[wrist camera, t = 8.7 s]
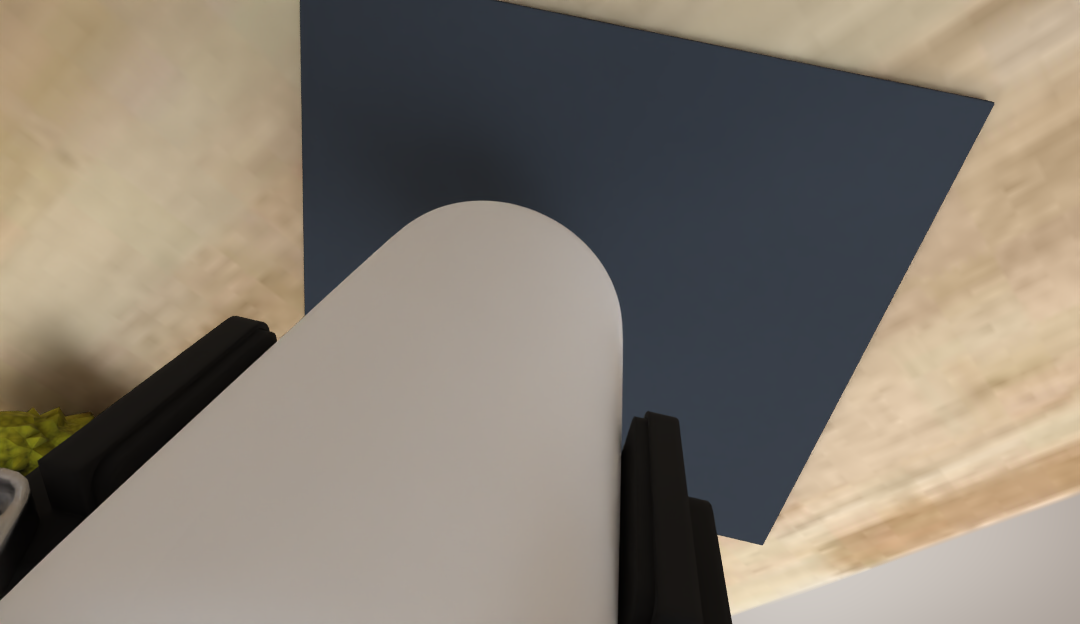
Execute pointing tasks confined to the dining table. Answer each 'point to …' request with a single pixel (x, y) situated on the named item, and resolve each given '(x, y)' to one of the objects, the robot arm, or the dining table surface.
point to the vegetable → (34, 436)
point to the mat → (645, 200)
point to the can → (386, 455)
